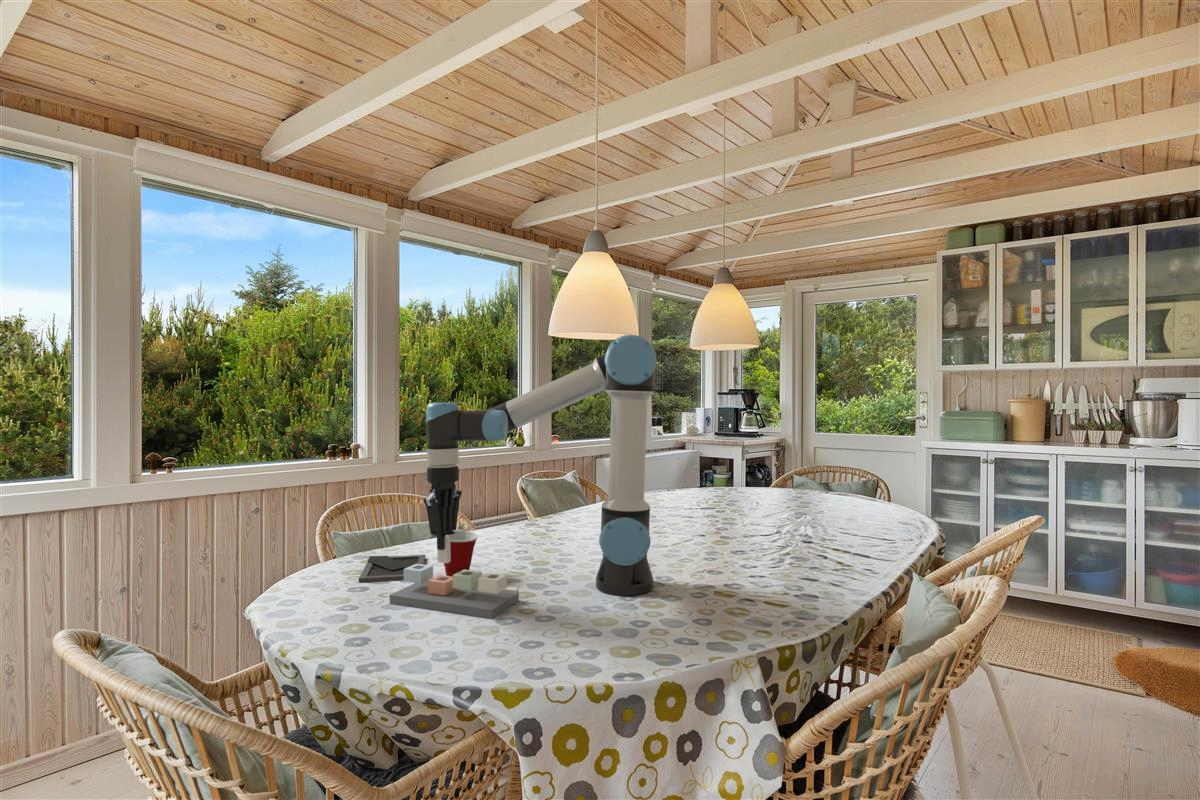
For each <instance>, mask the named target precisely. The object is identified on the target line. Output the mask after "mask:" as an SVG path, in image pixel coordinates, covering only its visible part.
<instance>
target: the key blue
mask: <svg viewBox="0 0 1200 800" xmlns="http://www.w3.org/2000/svg"><path fill="white" fill-rule="evenodd" d="M433 577H434V566H433V565H431V564H430V565H429V564H424V565H423V564H414V565H412V566H410V567H407V568H405V569H404V580H403V582H408V583H413V584H414V583H423V582H425V581H427V580H429V579H431V578H433Z"/></svg>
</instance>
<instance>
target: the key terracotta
mask: <svg viewBox="0 0 1200 800" xmlns="http://www.w3.org/2000/svg"><path fill="white" fill-rule="evenodd" d="M455 590H457V588H453V577H451V576H446V575H441V574H439V575H437V576H435V578H433V579H430V580H428V593H430V594H437V595H445V596H446V595H447V594H449V593H451V592H453V591H455Z"/></svg>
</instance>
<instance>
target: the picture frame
mask: <svg viewBox="0 0 1200 800" xmlns="http://www.w3.org/2000/svg"><path fill="white" fill-rule="evenodd" d="M424 562H426V554H416V555H415V554H414V555H413V554H412V555H411V554H410V555H394V556H393V555H392V556H388V555H369V556H368V559H367V562H366V563H365V566H364V568H363V570H362V571H361V573H360V575H359V577H358V583H359V582H360V583H372V582H371V581H377V582H389V581H388V580H394V581H404V569H405V568H407V567H410V566H412V565H414V564H423V565H425V563H424Z"/></svg>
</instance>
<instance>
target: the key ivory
mask: <svg viewBox="0 0 1200 800" xmlns="http://www.w3.org/2000/svg"><path fill="white" fill-rule="evenodd" d="M507 587H508V574H503V573H495V572H487V573H486V574H483V575H482V577H480V578H478V591H480V592H488V593H495V594H497V593H499V592H501V591H502V590H504V589H505V588H507Z"/></svg>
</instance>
